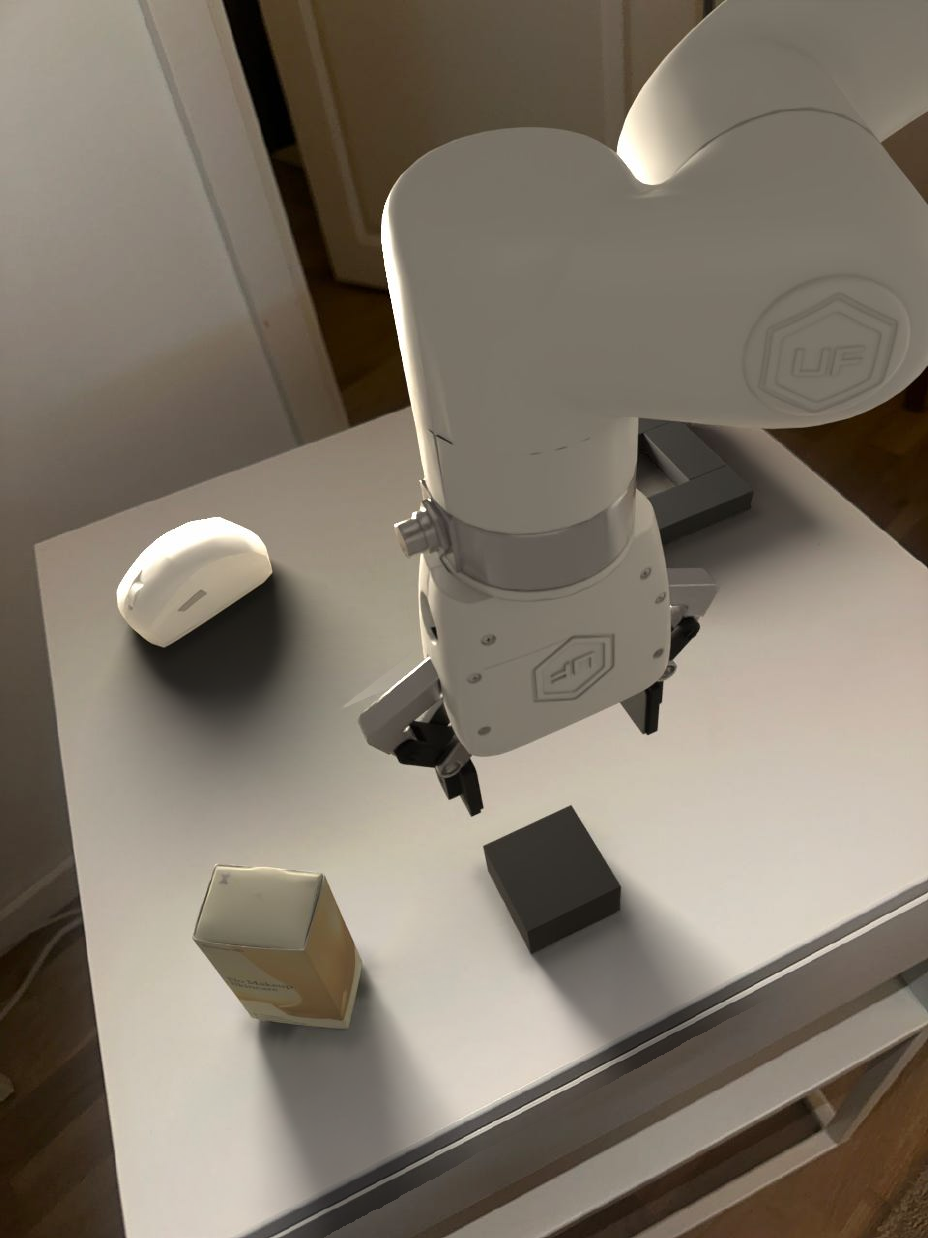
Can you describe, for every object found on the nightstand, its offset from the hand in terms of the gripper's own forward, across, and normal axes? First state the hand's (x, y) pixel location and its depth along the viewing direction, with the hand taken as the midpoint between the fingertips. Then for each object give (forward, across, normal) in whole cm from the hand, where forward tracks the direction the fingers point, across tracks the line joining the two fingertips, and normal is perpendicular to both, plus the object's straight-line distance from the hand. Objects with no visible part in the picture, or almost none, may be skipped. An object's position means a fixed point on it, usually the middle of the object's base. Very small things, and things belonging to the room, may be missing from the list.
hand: (551, 751), depth 48 cm
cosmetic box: (+16, -16, +1) cm, 23 cm away
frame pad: (+16, +23, +30) cm, 41 cm away
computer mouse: (+16, -14, +37) cm, 43 cm away
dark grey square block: (+16, 0, 0) cm, 16 cm away
